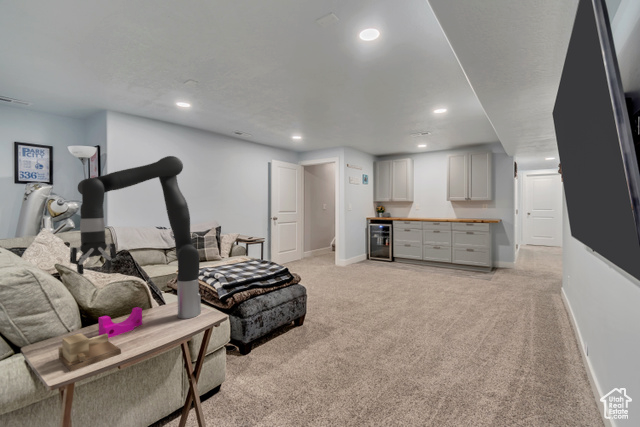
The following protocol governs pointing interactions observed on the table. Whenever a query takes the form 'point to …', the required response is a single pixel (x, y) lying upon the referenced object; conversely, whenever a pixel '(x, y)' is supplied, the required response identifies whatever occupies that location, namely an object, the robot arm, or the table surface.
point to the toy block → (122, 327)
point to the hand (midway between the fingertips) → (94, 271)
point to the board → (92, 352)
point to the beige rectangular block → (75, 347)
